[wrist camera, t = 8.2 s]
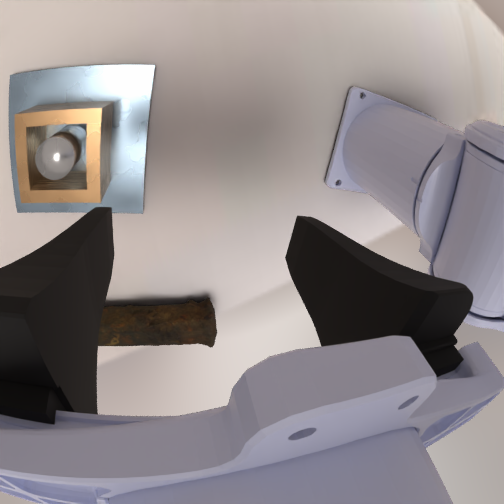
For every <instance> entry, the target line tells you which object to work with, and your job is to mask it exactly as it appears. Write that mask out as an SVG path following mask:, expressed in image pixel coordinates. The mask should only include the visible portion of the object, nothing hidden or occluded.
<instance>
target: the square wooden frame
mask: <svg viewBox="0 0 504 504" xmlns="http://www.w3.org/2000/svg"><path fill="white" fill-rule="evenodd" d="M113 103H114V101H95V102H72V103H57V104H45V105H36V106H34V107H31V108H29V109H26V110H24V111H21V112H19V113H17V114H15V149H16V163H17V174H18V183H19V191H20V199H21V203H101V201H102V199H103V197H104V195H105V192H106V190H107V188H108V186H109V184H110V161H111V132H112V116H113ZM81 123H87V137H86V170H87V171H70V172H69V173H68V174H67V175H66V176H65V177H63V178H61V179H58V180H51V179H48V178H46V177H44V176H43V175H42V174H41V173H40V172H39V170H38V169H37V166H36V161H35V156H36V152H37V149H38V147H39V146H40V145H41V143H43V142H44V141H45V140H47V125H59V124H81Z"/></svg>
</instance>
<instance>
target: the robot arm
mask: <svg viewBox="0 0 504 504" xmlns="http://www.w3.org/2000/svg"><path fill="white" fill-rule="evenodd" d="M360 93H363V97H362V98H360ZM337 180H339V183H338V184H336V181H337ZM325 183H326V185H327V186H328V187H330V188H335V189H342V190H349V191H355V192H362V193H368V194H370V195H371V196H372V197H373V198H375V199H376V200H377V201H378V202H379V203H381V204H382V205H383V206H384V207H385V208H386V209H388V210H389V211H390V212H391V213H392V214H393V215H395V216H396V217H397V218H398V219H399V220H400V221H401V222H403V223H404V224H405V225H406V226H407V227H408V228H409V229H410V230H412V231H413V232H414V233H415V234H416V235H417V236H418V237H419V238H420V241H421V244H420V249H419V252H420V253H421V254H422V255H423V256H424V257H425V258H426V259H427V260H428V261H429V262H430V263H431V264H430V266H429V269H428V274H425V273H422V272H419V271H416V270H413V269H411V268H408V267H406V266H403V265H400V264H398V263H396V262H393V261H391V260H389V259H387V258H385V257H383V256H381V255H378V254H377V253H375V252H373V251H371V250H369V249H367V248H366V247H364V246H362V245H360V244H358V243H357V242H355V241H353V240H352V239H350V238H348V237H347V236H345V235H343V234H342V233H340V232H338V231H337V230H335V229H333V228H332V227H330V226H328V225H327V224H325V223H323V222H321V221H319V220H317V219H315V218H312V217H306V216H297V218H296V222H295V225H294V229H293V233H292V236H291V240H290V243H289V247H288V250H287V254H286V257H285V258H286V262H287V265H288V269H289V272H290V275H291V278H292V280H293V282H294V284H295V286H296V288H297V290H298V292H299V294H300V296H301V298H302V300H303V302H304V304H305V307H306V309H307V311H308V313H309V315H310V317H311V318H312V321H313V323H314V326H315V328H316V331H317V334H318V337H319V340H320V343H321V346H322V347H314V348H306V349H297V350H293V351H289V352H286V353H281V354H277V355H274V356H270V357H268V358H266V359H265V360H263V361H261V362H259V363H258V364H256V365H254V366H252V367H251V368H249V369H247V370H246V371H245V373H244V374H243V375H242V376H241V378H240V379H239V381H238V382H237V383H236V384H235V386H234V387H233V389H232V392H231V396H230V399H229V403H228V405H227V406H223V407H219V408H214V409H210V410H205V411H201V412H196V413H191V414H186V415H180V416H116V415H98V413H97V387H96V386H97V385H96V384H97V382H96V380H97V377H96V375H97V350H98V337H99V328H100V322H101V317H102V313H103V309H104V304H105V300H106V296H107V292H108V288H109V284H110V280H111V275H112V268H113V260H114V243H113V226H112V207H95V208H94V209H92V210H91V211H89V212H88V213H87V214H86V215H84V216H83V217H82V218H81V219H79V220H78V221H77V222H75V223H74V224H73V225H72V226H70V227H69V228H68V229H66V230H65V231H64V232H62V233H61V234H59V235H58V236H57V237H55V238H54V239H53V240H51V241H50V242H48V243H47V244H45V245H44V246H42V247H40V248H39V249H37V250H35V251H34V252H32V253H30V254H29V255H27V256H25V257H23V258H21V259H19V260H17V261H15V262H13V263H11V264H9V265H7V266H4V267H2V268H0V491H1V492H4V493H7V494H9V495H12V496H15V497H19V498H22V499H25V500H29V501H32V502H35V503H39V504H453V502H452V500H451V498H450V496H449V494H448V492H447V490H446V488H445V486H444V484H443V482H442V480H441V478H440V476H439V474H438V472H437V470H436V468H435V466H434V464H433V462H432V460H431V458H430V456H429V454H428V452H427V450H426V447H428V446H430V445H432V444H433V443H435V442H436V441H438V440H440V439H441V438H443V437H445V436H446V435H448V434H449V433H451V432H452V431H454V430H456V429H457V428H459V427H460V426H462V425H463V424H465V423H466V422H468V421H469V420H471V419H472V418H473V417H474V416H475V415H476V414H478V413H479V412H480V411H481V410H482V409H483V408H484V407H485V406H487V405H488V404H489V403H490V402H491V401H492V400H493V399H494V398H495V397H496V396H497V395H498V394H499V393H500V392H501V391H502V390H503V389H504V377H503V376H502V374H501V373H500V371H499V370H498V369H497V367H496V366H495V364H494V363H493V362H492V360H491V359H490V358H489V356H488V355H487V354H486V352H485V351H484V349H483V348H482V347H481V346H480V344H479V343H478V342H474V343H472V344H469V345H466V346H464V347H462V348H461V349H460V350H457V349H456V348H455V346H454V345H455V344H456V343H457V339H456V337H455V336H454V333H455V332H456V330H457V329H458V328H459V326H460V325H461V323H462V322H464V323H467V324H470V325H472V326H476V327H481V328H490V329H496V330H499V331H502V332H504V126H501V125H498V124H495V123H492V122H489V121H485V120H477V121H475V122H473V123H472V124H468V125H466V128H465V133H463V132H461V131H459V130H456V129H454V128H452V127H449V126H447V125H445V124H442V123H440V122H438V121H437V120H436V119H435V118H433V117H431V116H429V115H426V114H424V113H422V112H420V111H417V110H415V109H413V108H411V107H408V106H406V105H404V104H401V103H399V102H396V101H394V100H391V99H389V98H386V97H383V96H381V95H378V94H375V93H373V92H370V91H367V90H364V89H361V88H358V87H352V88H351V89H350V90H349V93H348V97H347V101H346V105H345V109H344V113H343V117H342V121H341V125H340V128H339V132H338V136H337V140H336V143H335V147H334V151H333V154H332V158H331V162H330V165H329V169H328V172H327V176H326V179H325Z"/></svg>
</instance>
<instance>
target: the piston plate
mask: <svg viewBox="0 0 504 504" xmlns="http://www.w3.org/2000/svg"><path fill="white" fill-rule="evenodd" d="M155 66H156V65H92V66H76V67H64V68H55V69H46V70H38V71H31V72H25V73H19V74H13V75H10V85H9V142H10V158H11V169H12V179H13V187H14V195H15V201H16V208H17V213H24V212H87V213H88V212H89V211H91V210H92V209H94V208H95V207H112V213H141V214H143V210H144V181H145V162H146V147H147V135H148V124H149V113H150V104H151V96H152V88H153V80H154V73H155ZM95 101H114V103H113V116H112V132H111V161H110V184H109V186H108V188H107V190H106V192H105V195H104V197H103V199H102V201H101V203H21V199H20V191H19V183H18V174H17V163H16V149H15V114H17V113H19V112H21V111H24V110H26V109H29V108H31V107H34V106H36V105H45V104H57V103H72V102H95ZM86 137H87V123H81V124H59V125H47V140H45V141H44V142H43V143H41V145H40V146H39V147H38V149H37V152H36V156H35V161H36V166H37V169H38V170H39V172H40V173H41V174H42V175H43V176H44V177H46V178H48V179H51V180H58V179H61V178H63V177H65V176H66V175H67V174H68V173H69V172H70V171H87V170H86Z"/></svg>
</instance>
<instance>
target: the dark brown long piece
mask: <svg viewBox="0 0 504 504" xmlns="http://www.w3.org/2000/svg"><path fill="white" fill-rule="evenodd" d="M216 334H217V329H216V319H215V311H214V308H213V305H212V303H211V301H210V299H209V298H207V299H205V300H204V301H202V302H200V303H197V302H196V301H194V300H191V299H190V300H188V301H187V303H185V304H178V305H158V306H132V305H127V306H125V307H120V306H118V307H115V306H110V307H104V309H103V313H102V317H101V322H100V328H99V337H98V346H140V345H144V346H145V345H153V346H159V345H183V344H197V343H199V344H203V345H207V346H209V347H213V345H214V343H215V337H216Z"/></svg>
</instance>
